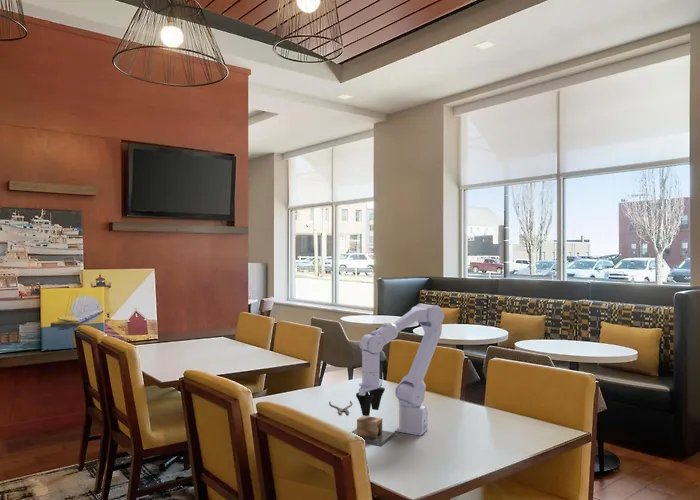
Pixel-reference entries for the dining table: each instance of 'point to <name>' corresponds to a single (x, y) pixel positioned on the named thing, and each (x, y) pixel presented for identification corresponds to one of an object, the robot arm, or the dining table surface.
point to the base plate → (380, 438)
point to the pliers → (341, 408)
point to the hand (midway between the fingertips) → (370, 412)
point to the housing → (369, 426)
